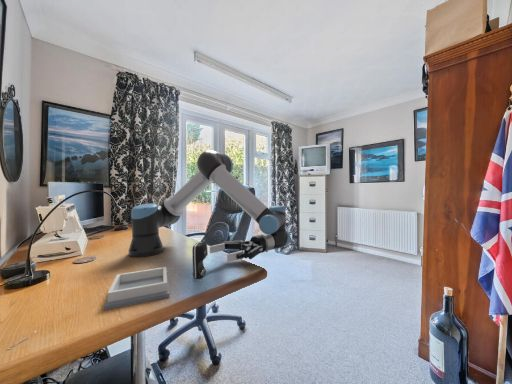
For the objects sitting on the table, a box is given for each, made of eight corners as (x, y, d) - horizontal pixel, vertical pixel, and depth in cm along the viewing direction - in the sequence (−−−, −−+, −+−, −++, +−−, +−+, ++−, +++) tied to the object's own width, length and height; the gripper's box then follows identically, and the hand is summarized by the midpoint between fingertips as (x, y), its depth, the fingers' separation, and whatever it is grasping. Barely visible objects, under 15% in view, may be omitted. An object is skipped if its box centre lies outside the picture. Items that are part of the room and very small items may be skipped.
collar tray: (116, 282, 74) (116, 272, 74) (167, 274, 81) (167, 264, 81) (104, 310, 58) (103, 297, 58) (169, 296, 64) (169, 285, 64)
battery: (203, 279, 76) (202, 246, 76) (192, 279, 76) (191, 246, 76) (208, 271, 83) (208, 240, 82) (198, 271, 83) (197, 241, 83)
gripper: (282, 259, 87) (237, 273, 74) (245, 246, 106) (204, 255, 93) (281, 240, 86) (236, 251, 73) (244, 230, 106) (203, 238, 93)
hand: (218, 253), depth 83 cm, fingers open, 13 cm apart
